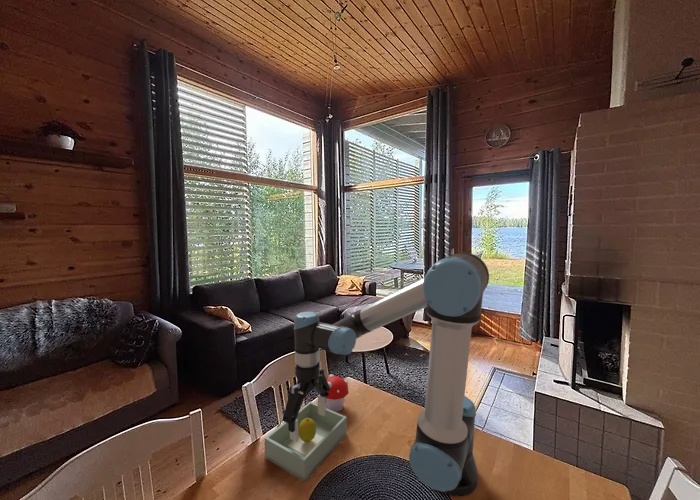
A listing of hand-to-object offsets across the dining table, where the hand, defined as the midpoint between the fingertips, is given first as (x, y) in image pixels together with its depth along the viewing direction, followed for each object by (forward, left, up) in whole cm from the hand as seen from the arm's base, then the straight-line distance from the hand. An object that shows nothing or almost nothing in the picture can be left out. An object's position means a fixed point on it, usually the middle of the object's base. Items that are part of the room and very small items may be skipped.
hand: (308, 426), depth 96 cm
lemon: (+1, 0, -6) cm, 6 cm away
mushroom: (+4, -21, -7) cm, 23 cm away
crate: (0, 0, -7) cm, 7 cm away
